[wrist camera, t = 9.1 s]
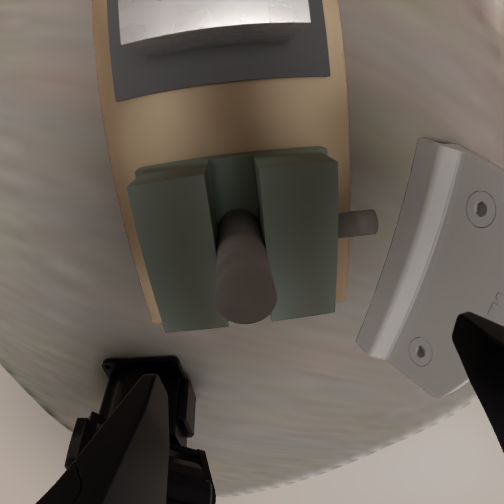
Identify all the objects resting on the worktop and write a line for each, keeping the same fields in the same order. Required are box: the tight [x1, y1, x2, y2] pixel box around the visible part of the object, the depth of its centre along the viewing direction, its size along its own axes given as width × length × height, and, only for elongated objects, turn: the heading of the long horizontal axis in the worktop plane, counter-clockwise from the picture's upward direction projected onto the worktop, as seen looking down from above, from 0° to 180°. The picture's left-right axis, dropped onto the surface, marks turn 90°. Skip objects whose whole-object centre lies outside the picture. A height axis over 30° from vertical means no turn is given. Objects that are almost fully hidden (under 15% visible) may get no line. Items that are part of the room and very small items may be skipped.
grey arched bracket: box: [356, 138, 504, 398], centre depth 18 cm, size 17×5×10 cm, turn 172°
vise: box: [92, 0, 378, 332], centre depth 12 cm, size 12×24×9 cm, turn 5°
